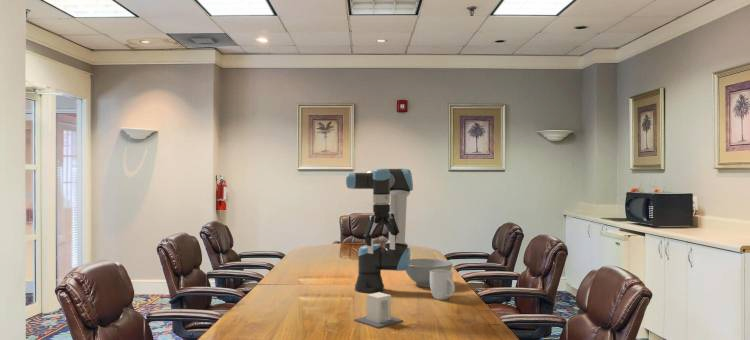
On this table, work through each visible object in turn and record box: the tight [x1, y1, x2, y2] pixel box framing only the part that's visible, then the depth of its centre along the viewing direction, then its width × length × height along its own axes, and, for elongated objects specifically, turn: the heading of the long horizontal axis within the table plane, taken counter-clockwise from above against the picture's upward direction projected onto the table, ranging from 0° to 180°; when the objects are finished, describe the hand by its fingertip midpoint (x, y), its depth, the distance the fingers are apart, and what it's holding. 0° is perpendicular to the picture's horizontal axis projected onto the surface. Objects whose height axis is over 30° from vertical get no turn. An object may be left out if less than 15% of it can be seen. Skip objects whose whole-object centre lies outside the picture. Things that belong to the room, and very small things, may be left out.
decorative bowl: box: [404, 258, 454, 288], centre depth 279 cm, size 27×27×12 cm
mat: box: [353, 315, 404, 329], centre depth 209 cm, size 14×14×1 cm
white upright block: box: [366, 291, 392, 323], centre depth 209 cm, size 7×7×10 cm
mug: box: [429, 269, 456, 301], centre depth 246 cm, size 15×11×13 cm
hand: (381, 251), depth 228 cm, fingers open, 13 cm apart
